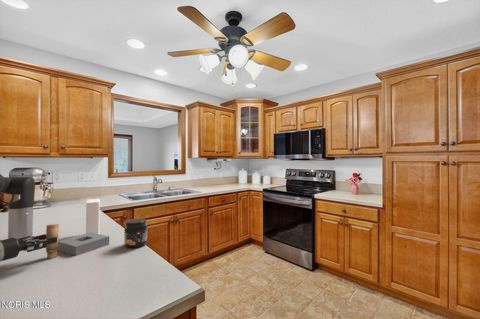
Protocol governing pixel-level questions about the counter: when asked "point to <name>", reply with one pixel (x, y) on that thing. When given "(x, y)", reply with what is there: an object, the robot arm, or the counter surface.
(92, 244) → the board
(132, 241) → the supplement container
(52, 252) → the peg
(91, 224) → the white tall block
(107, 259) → the counter surface
